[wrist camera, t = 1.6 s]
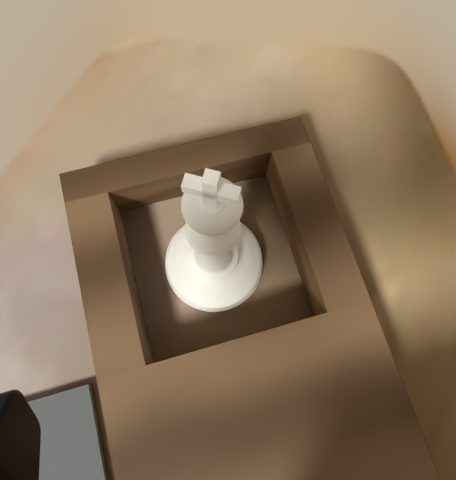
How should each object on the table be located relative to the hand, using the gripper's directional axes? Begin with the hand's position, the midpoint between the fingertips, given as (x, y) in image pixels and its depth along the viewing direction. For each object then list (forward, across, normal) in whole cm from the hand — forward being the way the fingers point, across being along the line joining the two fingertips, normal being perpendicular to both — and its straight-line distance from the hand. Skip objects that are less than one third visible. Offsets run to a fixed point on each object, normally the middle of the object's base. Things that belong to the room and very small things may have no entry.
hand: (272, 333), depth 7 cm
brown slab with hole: (+10, 0, +8) cm, 12 cm away
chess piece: (+12, 0, +6) cm, 13 cm away
